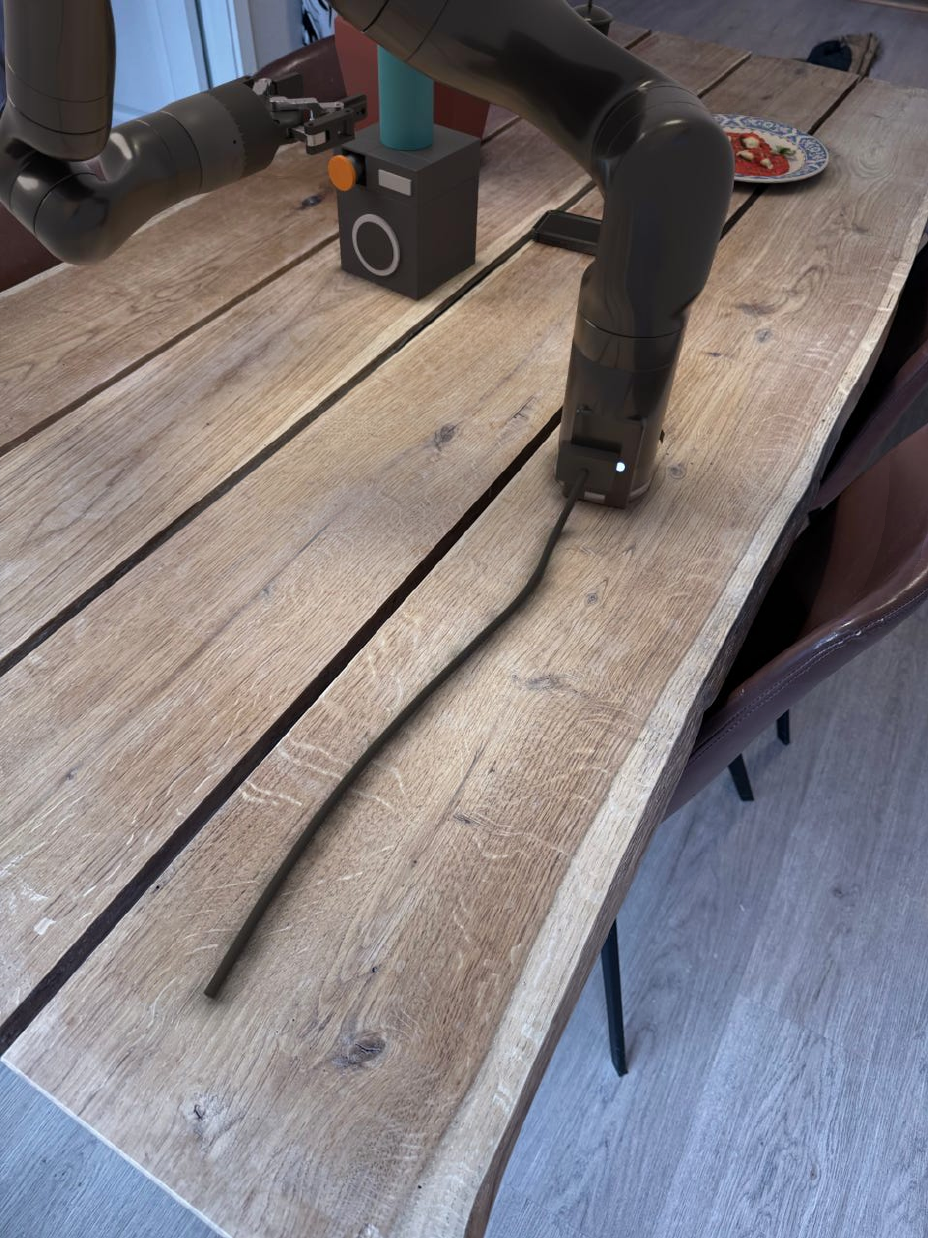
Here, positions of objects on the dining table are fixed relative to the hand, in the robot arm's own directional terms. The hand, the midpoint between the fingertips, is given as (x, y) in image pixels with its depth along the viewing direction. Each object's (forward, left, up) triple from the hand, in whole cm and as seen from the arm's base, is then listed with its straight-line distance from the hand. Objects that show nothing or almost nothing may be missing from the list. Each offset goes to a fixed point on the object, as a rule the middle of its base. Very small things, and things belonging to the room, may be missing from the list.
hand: (331, 93), depth 91 cm
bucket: (+43, +5, -23) cm, 49 cm away
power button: (+6, +1, -11) cm, 13 cm away
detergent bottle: (+11, -4, -7) cm, 14 cm away
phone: (+26, -25, -22) cm, 42 cm away
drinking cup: (+73, -14, -23) cm, 77 cm away
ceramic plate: (+61, -42, -23) cm, 77 cm away
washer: (+11, -4, -22) cm, 25 cm away
